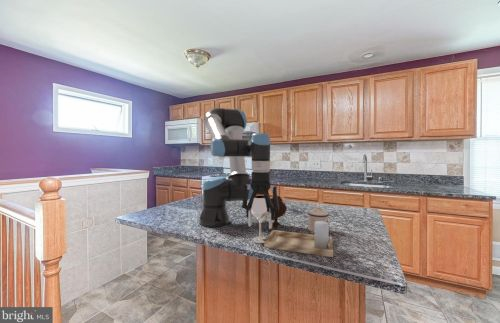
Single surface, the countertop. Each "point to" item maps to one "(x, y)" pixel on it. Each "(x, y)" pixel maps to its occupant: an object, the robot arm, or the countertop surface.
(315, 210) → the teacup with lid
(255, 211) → the wineglass
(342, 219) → the countertop surface
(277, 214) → the ice cream bowl
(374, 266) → the countertop surface
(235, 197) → the robot arm
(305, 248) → the tray
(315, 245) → the white rounded capsule
